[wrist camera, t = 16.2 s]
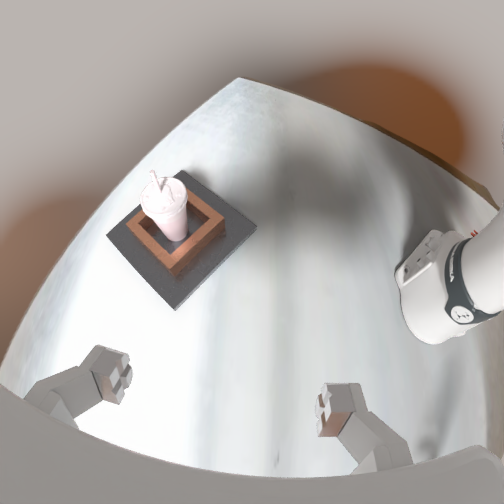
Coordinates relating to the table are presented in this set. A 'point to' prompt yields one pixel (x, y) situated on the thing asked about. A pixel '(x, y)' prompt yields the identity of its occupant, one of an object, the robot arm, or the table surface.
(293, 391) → the table surface
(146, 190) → the smoothie
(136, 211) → the mount
